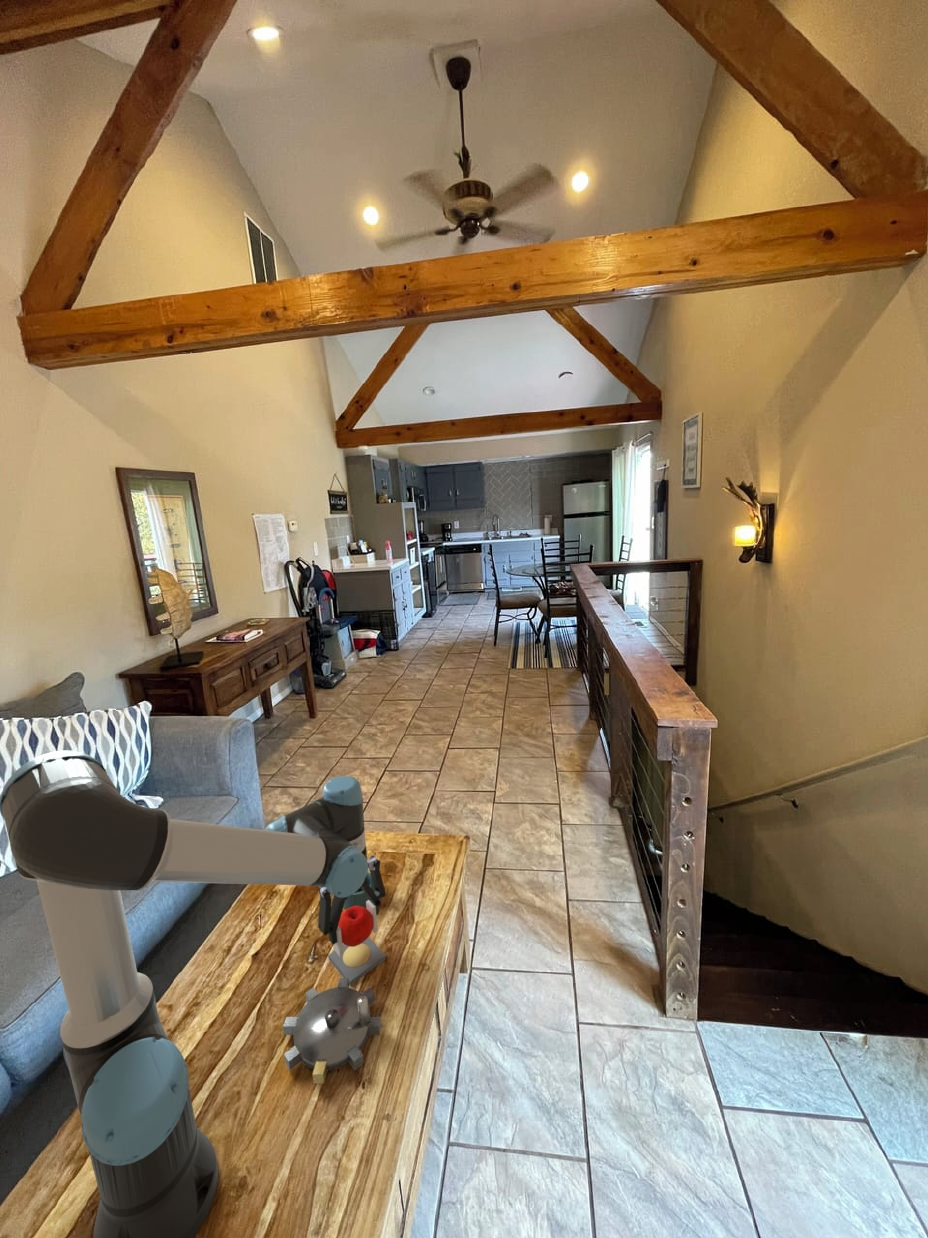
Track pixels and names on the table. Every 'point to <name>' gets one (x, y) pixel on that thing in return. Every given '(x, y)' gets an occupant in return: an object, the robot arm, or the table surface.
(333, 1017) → the hub
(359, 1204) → the table surface
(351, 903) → the bracket
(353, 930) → the apple
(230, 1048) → the table surface
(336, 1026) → the sprocket
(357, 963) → the seat
